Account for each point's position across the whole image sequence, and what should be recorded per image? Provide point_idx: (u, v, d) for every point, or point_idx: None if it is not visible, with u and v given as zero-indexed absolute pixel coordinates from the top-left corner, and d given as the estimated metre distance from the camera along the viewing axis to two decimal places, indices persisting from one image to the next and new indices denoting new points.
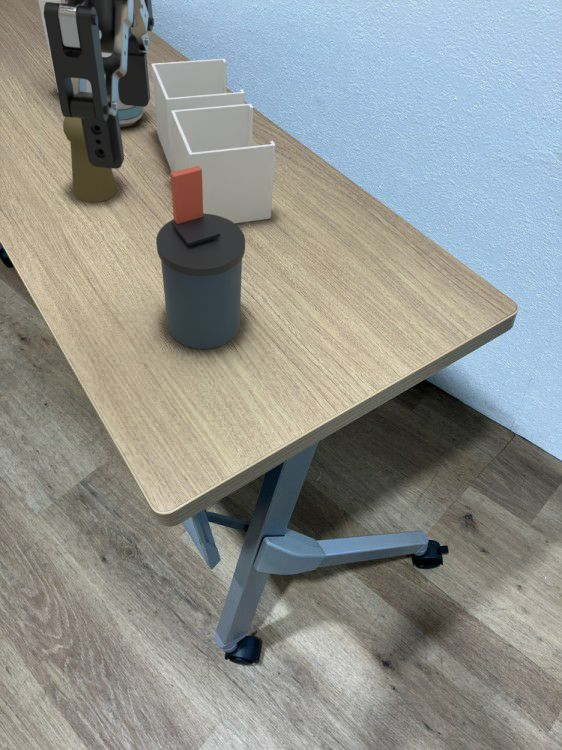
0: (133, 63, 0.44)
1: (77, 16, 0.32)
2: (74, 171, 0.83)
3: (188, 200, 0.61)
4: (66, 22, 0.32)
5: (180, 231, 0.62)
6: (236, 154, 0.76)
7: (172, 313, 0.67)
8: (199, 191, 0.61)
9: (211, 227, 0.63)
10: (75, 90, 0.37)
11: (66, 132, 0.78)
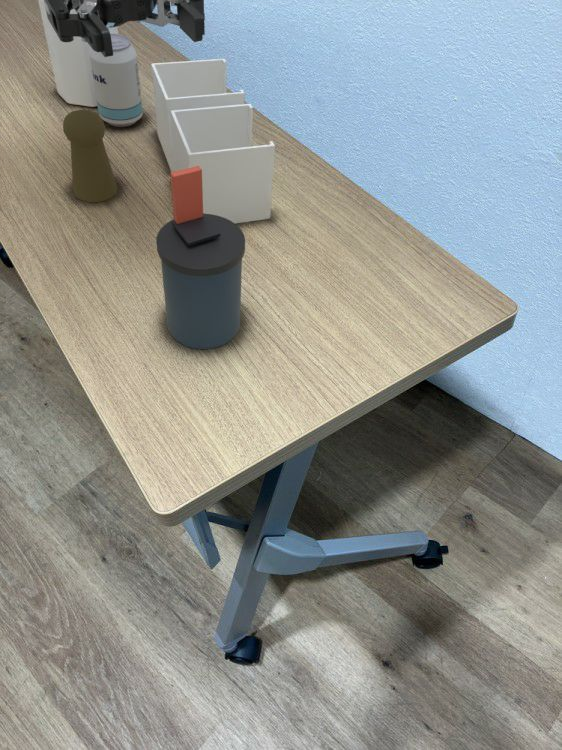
0: None
1: None
2: (74, 171, 0.83)
3: (188, 200, 0.61)
4: None
5: (180, 231, 0.62)
6: (235, 154, 0.76)
7: (172, 313, 0.67)
8: (199, 191, 0.61)
9: (211, 227, 0.63)
10: None
11: (66, 132, 0.78)
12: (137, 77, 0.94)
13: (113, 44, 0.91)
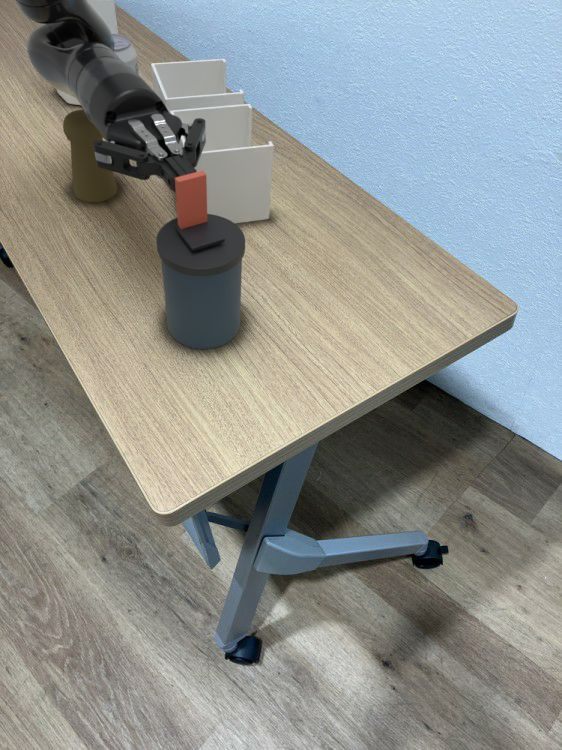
0: None
1: (205, 135, 0.67)
2: (74, 171, 0.83)
3: (192, 205, 0.61)
4: (205, 132, 0.66)
5: (184, 236, 0.61)
6: (234, 154, 0.76)
7: (172, 313, 0.67)
8: (204, 196, 0.61)
9: (215, 232, 0.62)
10: None
11: (66, 132, 0.78)
12: None
13: None
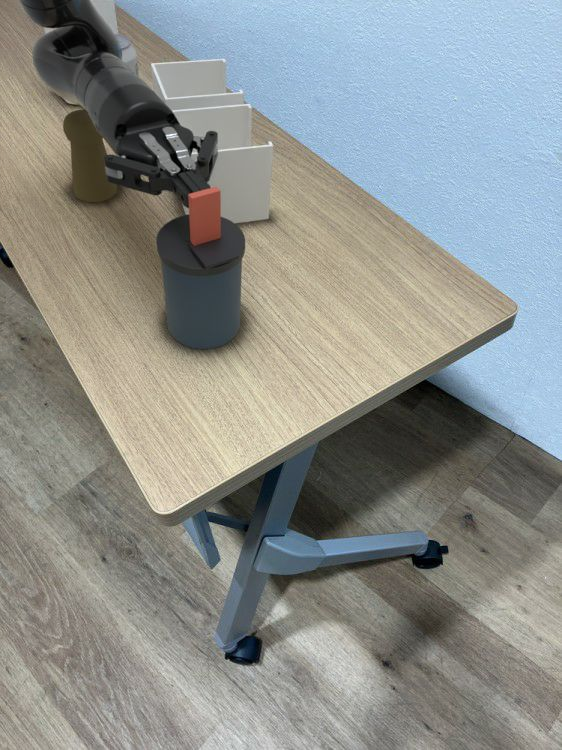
0: None
1: (217, 148, 0.66)
2: (74, 171, 0.83)
3: (206, 222, 0.59)
4: (217, 145, 0.65)
5: (197, 253, 0.60)
6: (233, 154, 0.76)
7: (172, 313, 0.67)
8: (217, 212, 0.59)
9: (229, 249, 0.61)
10: None
11: (66, 132, 0.78)
12: None
13: None
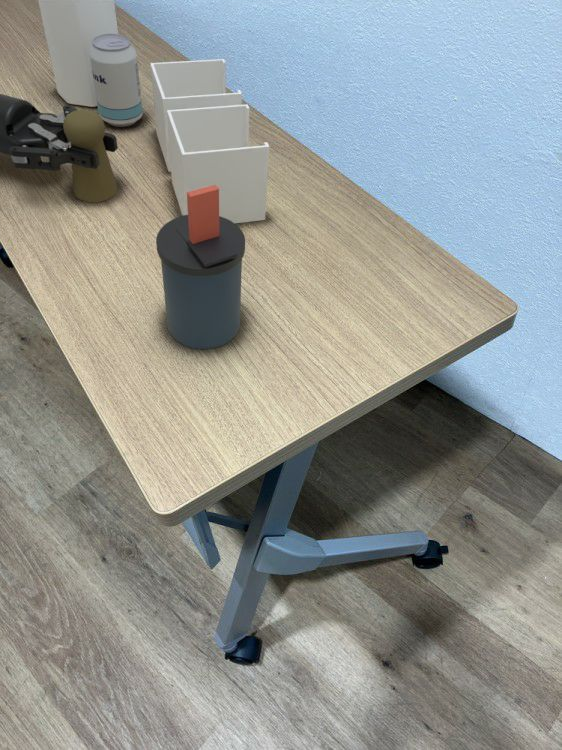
0: None
1: None
2: (74, 171, 0.83)
3: (204, 220, 0.59)
4: None
5: (196, 252, 0.60)
6: (229, 154, 0.76)
7: (172, 313, 0.67)
8: (216, 210, 0.59)
9: (228, 247, 0.61)
10: None
11: (66, 132, 0.79)
12: (137, 77, 0.94)
13: (113, 44, 0.91)
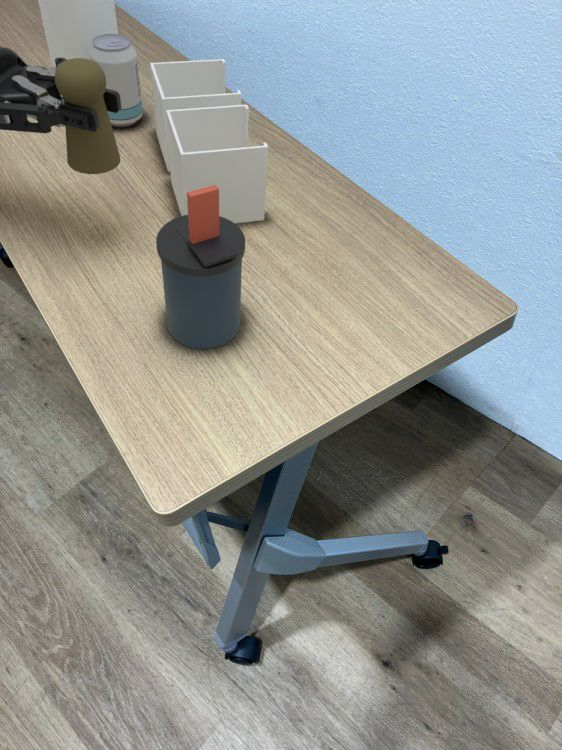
0: None
1: None
2: (68, 135, 0.68)
3: (204, 220, 0.59)
4: None
5: (196, 252, 0.60)
6: (228, 154, 0.76)
7: (172, 313, 0.67)
8: (216, 210, 0.59)
9: (228, 247, 0.61)
10: None
11: (58, 85, 0.64)
12: (137, 77, 0.94)
13: (113, 44, 0.91)
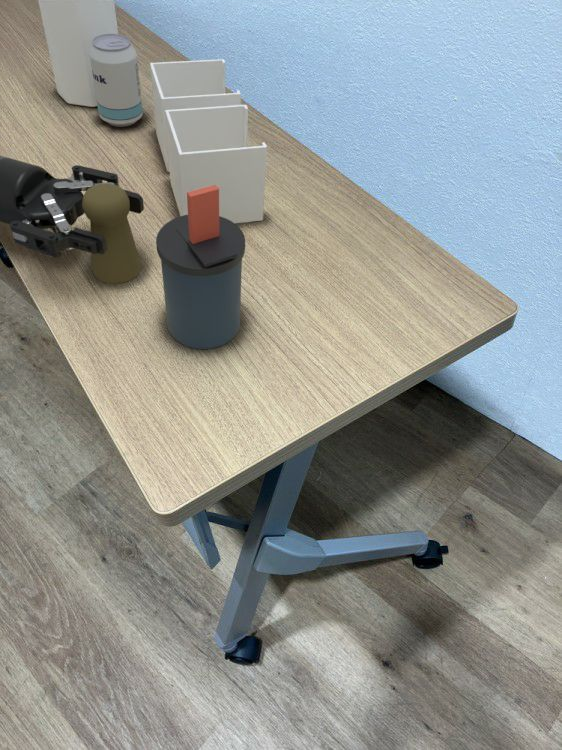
0: None
1: None
2: None
3: (204, 220, 0.59)
4: None
5: (196, 252, 0.60)
6: (227, 154, 0.76)
7: (172, 313, 0.67)
8: (216, 210, 0.59)
9: (228, 247, 0.61)
10: None
11: (86, 211, 0.68)
12: (137, 77, 0.94)
13: (113, 44, 0.91)
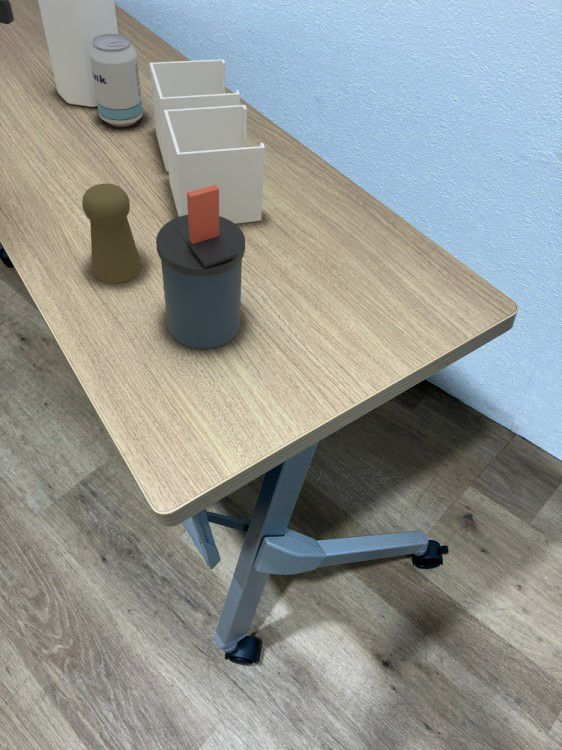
0: None
1: None
2: (94, 250, 0.73)
3: (204, 220, 0.59)
4: None
5: (196, 252, 0.60)
6: (225, 155, 0.76)
7: (172, 313, 0.67)
8: (216, 210, 0.59)
9: (228, 247, 0.61)
10: None
11: (86, 211, 0.68)
12: (137, 77, 0.94)
13: (113, 44, 0.91)
